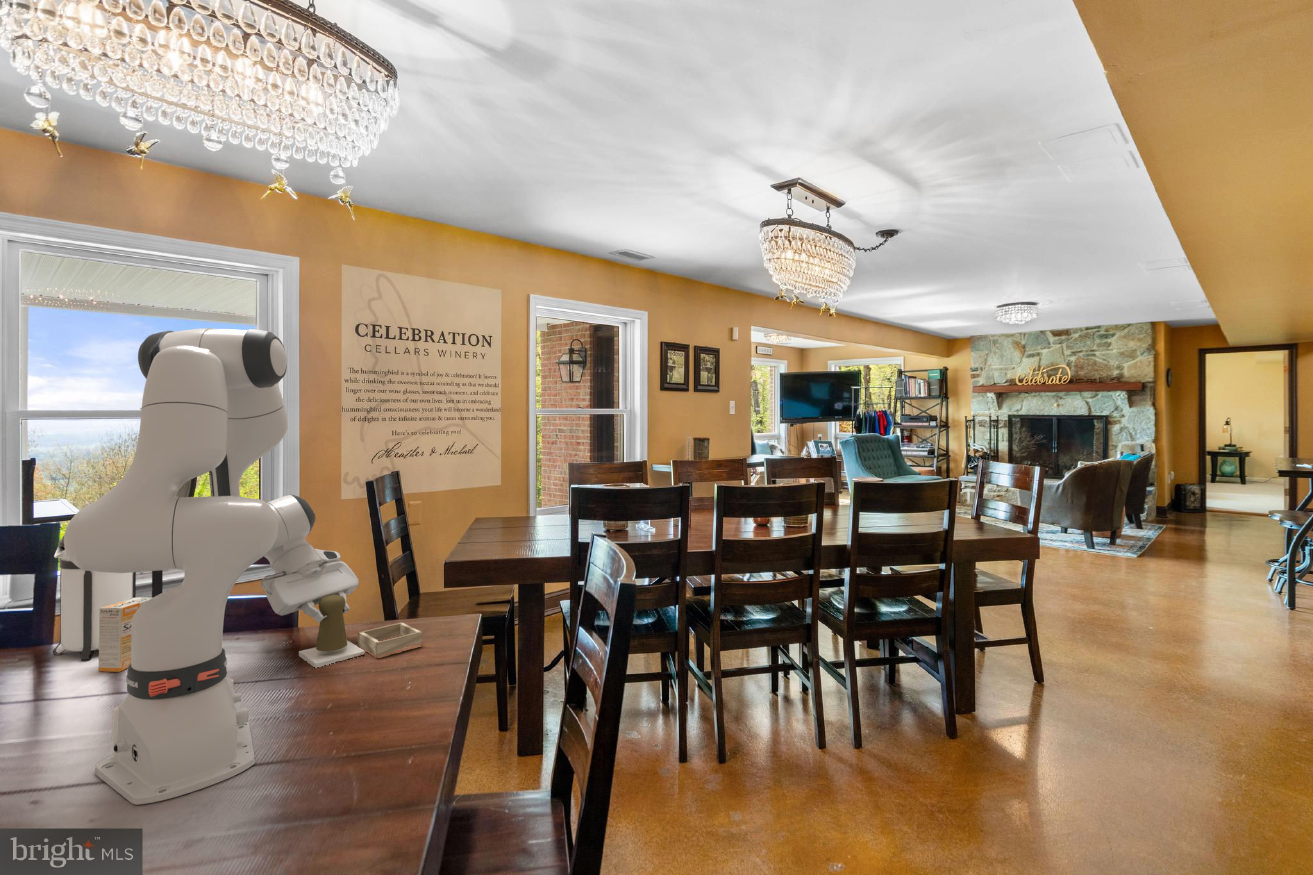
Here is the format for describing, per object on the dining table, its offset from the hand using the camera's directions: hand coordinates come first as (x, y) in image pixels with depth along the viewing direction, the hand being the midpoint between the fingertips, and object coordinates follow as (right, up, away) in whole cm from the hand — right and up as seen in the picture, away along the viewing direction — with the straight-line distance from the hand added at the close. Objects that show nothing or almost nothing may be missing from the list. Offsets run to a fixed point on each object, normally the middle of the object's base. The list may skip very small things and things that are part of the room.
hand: (334, 616), depth 132 cm
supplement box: (-40, -9, -6) cm, 41 cm away
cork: (-1, -7, 0) cm, 7 cm away
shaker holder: (+10, -9, +6) cm, 14 cm away
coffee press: (-53, -8, +3) cm, 54 cm away
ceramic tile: (-1, -9, 0) cm, 9 cm away
